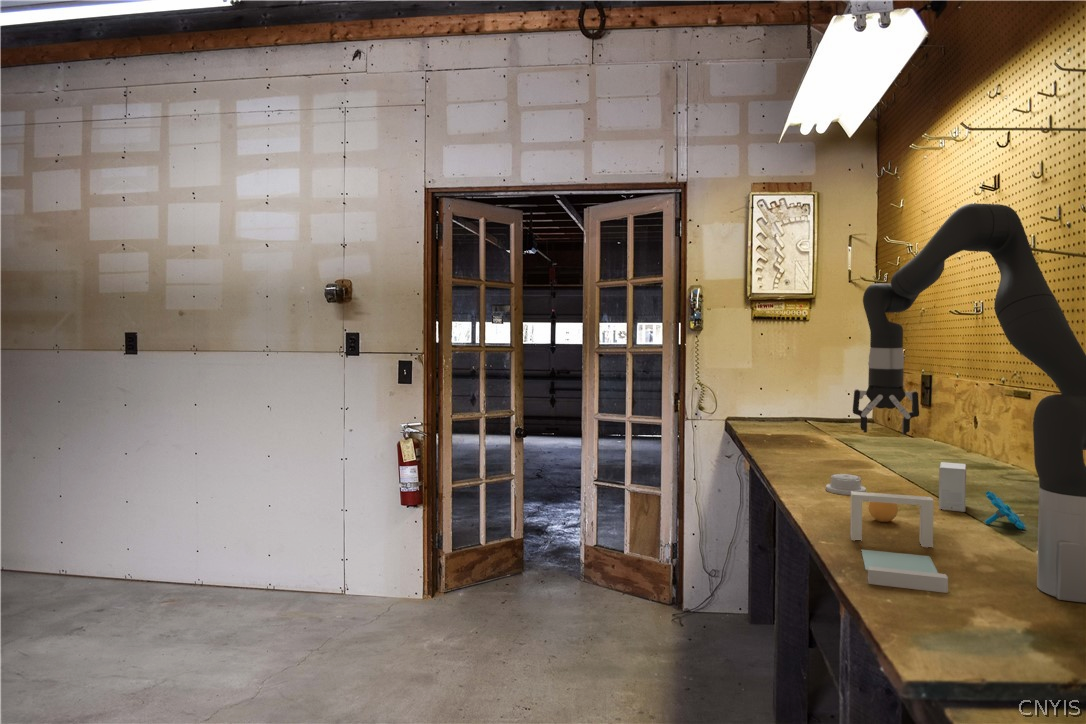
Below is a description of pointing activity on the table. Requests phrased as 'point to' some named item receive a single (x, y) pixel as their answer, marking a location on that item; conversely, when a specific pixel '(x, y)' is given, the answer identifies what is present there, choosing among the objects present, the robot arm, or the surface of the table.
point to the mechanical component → (845, 484)
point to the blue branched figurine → (1003, 511)
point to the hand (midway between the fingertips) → (884, 433)
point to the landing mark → (898, 561)
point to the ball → (883, 511)
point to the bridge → (923, 501)
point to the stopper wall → (908, 579)
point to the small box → (952, 486)
